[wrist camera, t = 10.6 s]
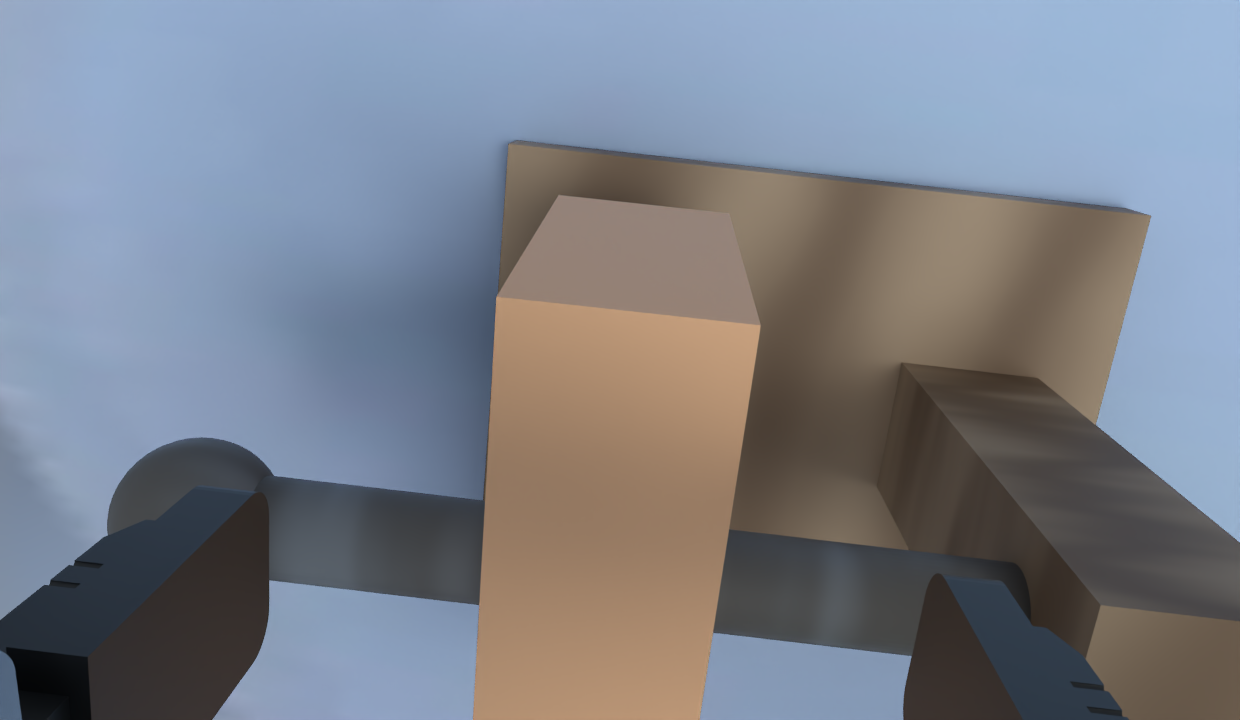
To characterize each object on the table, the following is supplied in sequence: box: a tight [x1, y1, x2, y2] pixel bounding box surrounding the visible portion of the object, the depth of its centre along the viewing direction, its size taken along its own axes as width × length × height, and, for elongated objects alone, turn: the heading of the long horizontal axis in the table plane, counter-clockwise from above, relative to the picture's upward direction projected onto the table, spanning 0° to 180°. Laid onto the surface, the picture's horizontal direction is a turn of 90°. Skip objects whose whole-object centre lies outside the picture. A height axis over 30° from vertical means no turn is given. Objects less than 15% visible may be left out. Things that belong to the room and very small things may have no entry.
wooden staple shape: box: [473, 195, 761, 720], centre depth 21 cm, size 12×4×8 cm, turn 174°
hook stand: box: [107, 140, 1240, 720], centre depth 23 cm, size 24×14×15 cm, turn 84°
